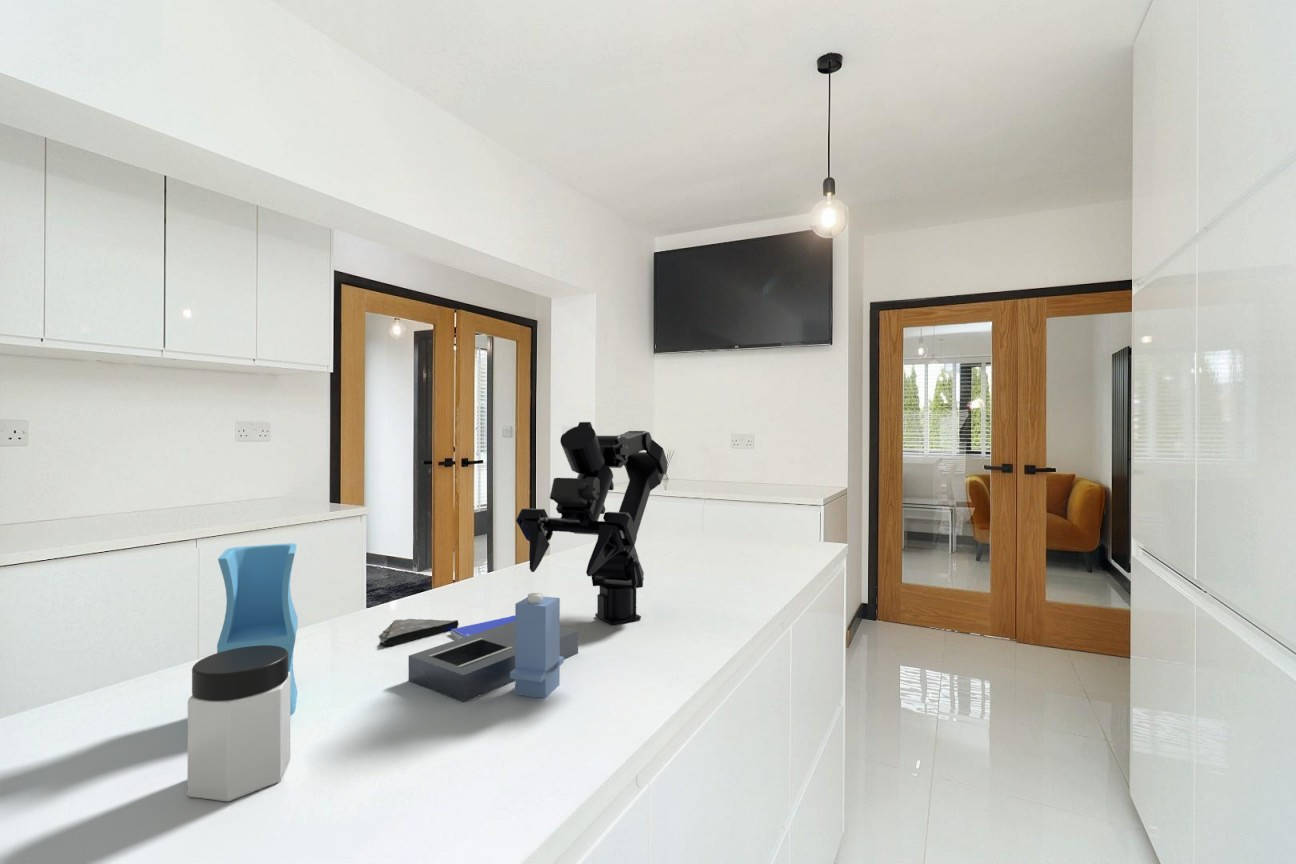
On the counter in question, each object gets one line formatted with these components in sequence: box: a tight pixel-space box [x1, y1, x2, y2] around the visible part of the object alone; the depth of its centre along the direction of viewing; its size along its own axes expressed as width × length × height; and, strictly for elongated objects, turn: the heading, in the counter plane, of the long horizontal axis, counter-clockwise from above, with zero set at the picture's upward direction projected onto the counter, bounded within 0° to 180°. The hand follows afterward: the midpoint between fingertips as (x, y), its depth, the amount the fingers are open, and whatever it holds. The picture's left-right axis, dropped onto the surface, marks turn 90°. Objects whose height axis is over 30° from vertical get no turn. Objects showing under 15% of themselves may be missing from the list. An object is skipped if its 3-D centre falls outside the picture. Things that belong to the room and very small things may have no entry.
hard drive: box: [450, 614, 515, 640], centre depth 107 cm, size 2×8×12 cm
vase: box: [216, 542, 299, 716], centre depth 77 cm, size 8×8×20 cm
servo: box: [510, 592, 565, 699], centre depth 84 cm, size 7×4×13 cm, turn 164°
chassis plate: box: [408, 621, 579, 703], centre depth 92 cm, size 22×12×4 cm, turn 145°
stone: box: [378, 618, 459, 646], centre depth 107 cm, size 13×10×2 cm
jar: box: [186, 645, 291, 803], centre depth 62 cm, size 9×8×12 cm
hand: (559, 572), depth 91 cm, fingers open, 9 cm apart
